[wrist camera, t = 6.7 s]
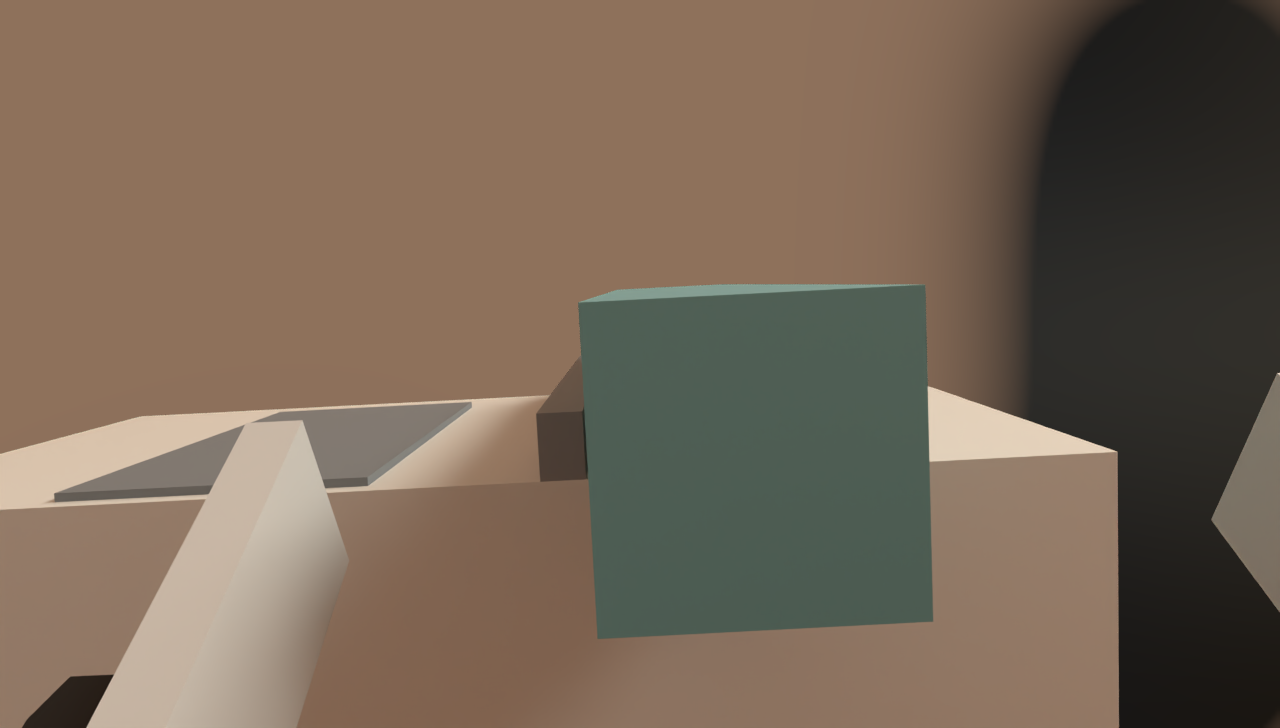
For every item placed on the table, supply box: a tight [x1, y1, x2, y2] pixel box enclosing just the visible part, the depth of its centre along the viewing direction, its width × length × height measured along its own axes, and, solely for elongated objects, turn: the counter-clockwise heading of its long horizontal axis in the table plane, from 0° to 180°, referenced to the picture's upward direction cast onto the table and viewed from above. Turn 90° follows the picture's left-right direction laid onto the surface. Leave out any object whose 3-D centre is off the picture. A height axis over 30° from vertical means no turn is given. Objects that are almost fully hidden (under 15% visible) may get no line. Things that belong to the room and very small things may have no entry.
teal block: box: [578, 284, 933, 639], centre depth 23 cm, size 24×4×4 cm, turn 0°
